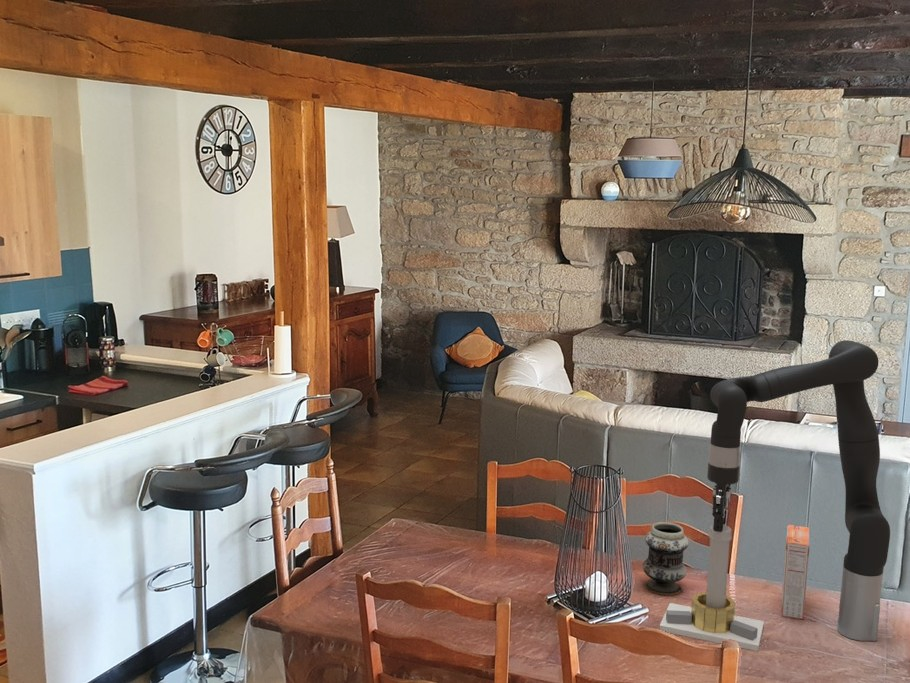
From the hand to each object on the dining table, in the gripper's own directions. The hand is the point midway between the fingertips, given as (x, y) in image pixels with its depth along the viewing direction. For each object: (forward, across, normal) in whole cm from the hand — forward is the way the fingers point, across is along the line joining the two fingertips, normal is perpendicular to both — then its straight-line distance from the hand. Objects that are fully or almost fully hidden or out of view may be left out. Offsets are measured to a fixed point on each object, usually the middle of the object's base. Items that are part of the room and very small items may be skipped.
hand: (719, 527), depth 230 cm
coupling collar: (+26, 0, 0) cm, 26 cm away
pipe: (+25, 0, 0) cm, 25 cm away
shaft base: (+27, 0, 0) cm, 27 cm away
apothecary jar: (+27, +19, +16) cm, 37 cm away
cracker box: (+28, +22, -18) cm, 40 cm away
